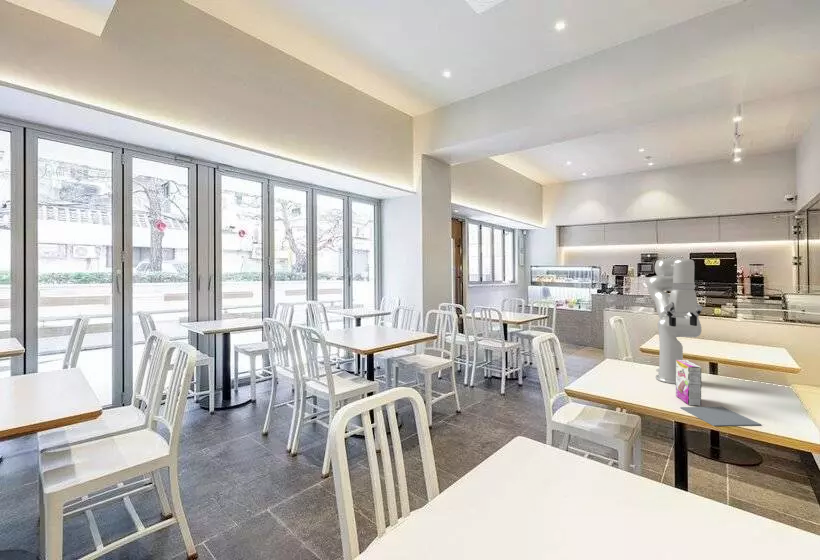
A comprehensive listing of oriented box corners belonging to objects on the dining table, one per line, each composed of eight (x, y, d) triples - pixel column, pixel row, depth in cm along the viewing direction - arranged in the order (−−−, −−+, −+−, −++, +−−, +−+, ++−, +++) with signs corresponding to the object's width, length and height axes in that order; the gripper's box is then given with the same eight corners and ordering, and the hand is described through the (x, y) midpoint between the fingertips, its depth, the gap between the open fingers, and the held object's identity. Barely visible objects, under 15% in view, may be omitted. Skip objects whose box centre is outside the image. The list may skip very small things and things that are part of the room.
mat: (680, 408, 153) (680, 407, 153) (722, 407, 153) (722, 406, 153) (714, 426, 136) (714, 425, 136) (761, 425, 136) (761, 424, 136)
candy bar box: (674, 396, 167) (675, 359, 166) (687, 396, 166) (688, 359, 165) (688, 405, 156) (688, 366, 155) (701, 406, 155) (702, 366, 154)
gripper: (695, 286, 171) (694, 324, 172) (658, 287, 170) (658, 325, 171) (709, 287, 164) (708, 326, 165) (671, 288, 163) (670, 327, 163)
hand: (682, 325), depth 168 cm, fingers open, 9 cm apart
